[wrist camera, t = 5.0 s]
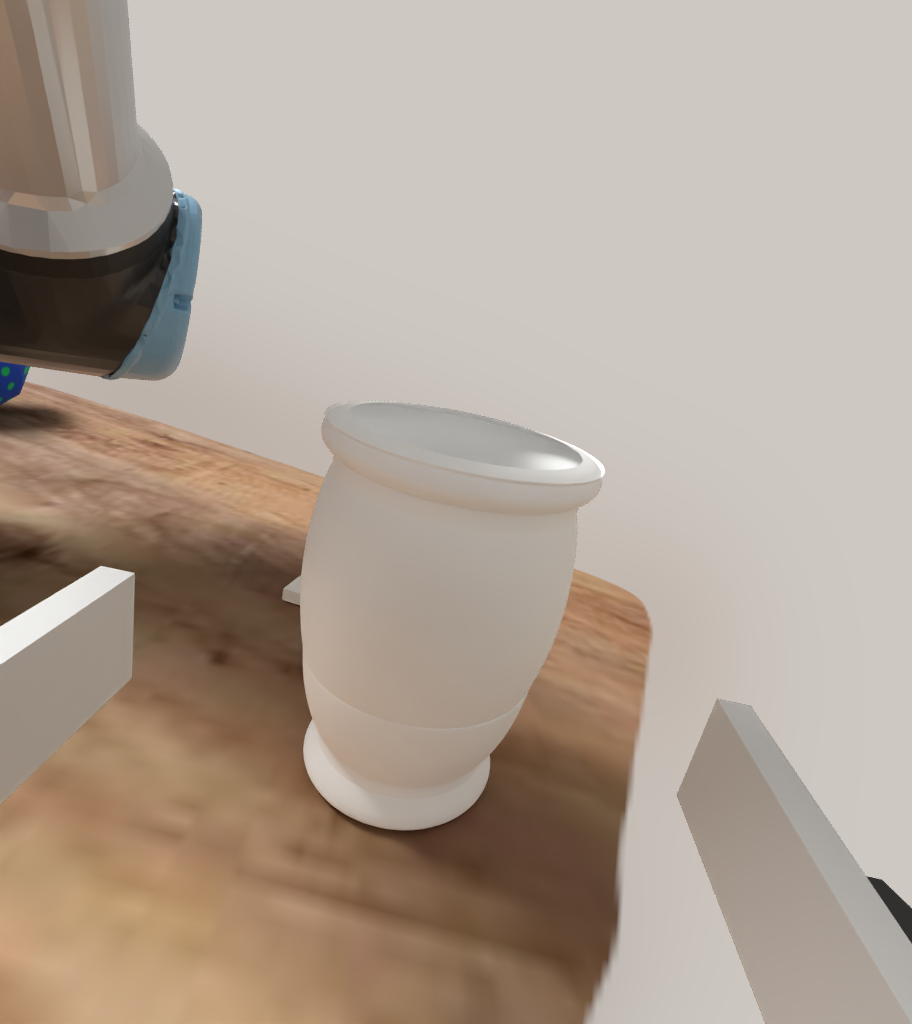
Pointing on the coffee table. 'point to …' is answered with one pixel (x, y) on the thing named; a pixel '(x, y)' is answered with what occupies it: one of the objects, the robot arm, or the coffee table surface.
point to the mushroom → (11, 380)
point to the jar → (430, 601)
